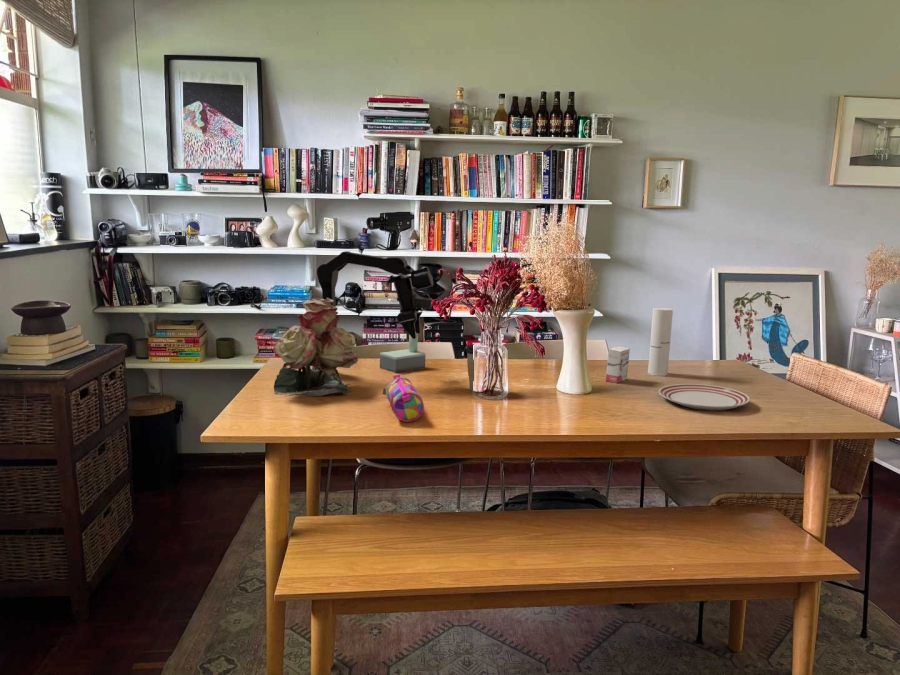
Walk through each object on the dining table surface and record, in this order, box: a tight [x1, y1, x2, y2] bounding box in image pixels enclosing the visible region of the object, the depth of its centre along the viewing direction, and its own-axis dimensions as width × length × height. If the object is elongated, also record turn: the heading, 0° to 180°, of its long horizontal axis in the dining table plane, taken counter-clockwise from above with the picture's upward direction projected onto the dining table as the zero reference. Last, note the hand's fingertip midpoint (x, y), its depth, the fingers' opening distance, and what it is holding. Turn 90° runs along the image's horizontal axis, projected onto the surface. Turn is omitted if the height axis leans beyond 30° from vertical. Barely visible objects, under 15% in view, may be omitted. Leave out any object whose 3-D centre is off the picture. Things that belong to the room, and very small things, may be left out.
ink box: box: [605, 345, 631, 384], centre depth 240 cm, size 9×5×12 cm, turn 143°
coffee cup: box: [465, 343, 475, 392], centre depth 221 cm, size 9×9×15 cm
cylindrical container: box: [647, 307, 674, 377], centre depth 251 cm, size 7×7×25 cm
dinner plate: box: [658, 383, 751, 411], centre depth 214 cm, size 27×27×3 cm
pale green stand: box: [379, 333, 427, 360], centre depth 250 cm, size 10×14×9 cm
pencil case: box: [382, 374, 425, 423], centre depth 194 cm, size 22×9×9 cm, turn 14°
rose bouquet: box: [272, 297, 359, 397], centre depth 217 cm, size 26×29×30 cm
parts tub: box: [379, 354, 426, 374], centre depth 251 cm, size 10×14×5 cm
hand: (416, 335), depth 231 cm, fingers open, 9 cm apart
